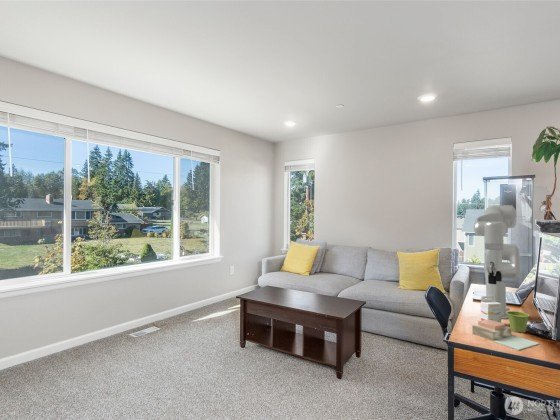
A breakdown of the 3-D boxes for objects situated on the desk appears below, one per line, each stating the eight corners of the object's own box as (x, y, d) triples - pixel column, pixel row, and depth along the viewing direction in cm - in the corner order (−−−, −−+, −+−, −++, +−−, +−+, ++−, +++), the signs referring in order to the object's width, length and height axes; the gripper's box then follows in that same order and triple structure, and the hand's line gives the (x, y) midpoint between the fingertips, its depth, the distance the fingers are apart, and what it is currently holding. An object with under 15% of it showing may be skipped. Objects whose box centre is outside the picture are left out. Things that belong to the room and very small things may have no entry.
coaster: (488, 323, 157) (488, 319, 157) (505, 328, 150) (505, 324, 150) (478, 325, 154) (478, 321, 154) (495, 330, 146) (494, 326, 146)
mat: (513, 336, 150) (513, 335, 150) (539, 344, 140) (539, 343, 140) (493, 341, 143) (493, 340, 143) (518, 350, 134) (518, 349, 134)
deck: (490, 329, 159) (490, 321, 159) (511, 336, 150) (511, 327, 150) (472, 333, 153) (472, 325, 153) (493, 341, 144) (493, 332, 144)
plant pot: (502, 329, 159) (502, 312, 160) (513, 326, 163) (513, 310, 164) (522, 335, 151) (522, 317, 151) (534, 332, 155) (533, 315, 155)
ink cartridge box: (488, 326, 164) (488, 298, 164) (480, 323, 169) (480, 296, 169) (502, 325, 166) (501, 297, 166) (493, 322, 171) (493, 295, 171)
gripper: (489, 245, 159) (490, 279, 159) (480, 247, 147) (480, 284, 147) (507, 246, 154) (508, 281, 153) (498, 249, 142) (499, 286, 141)
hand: (495, 282), depth 150 cm, fingers open, 9 cm apart
